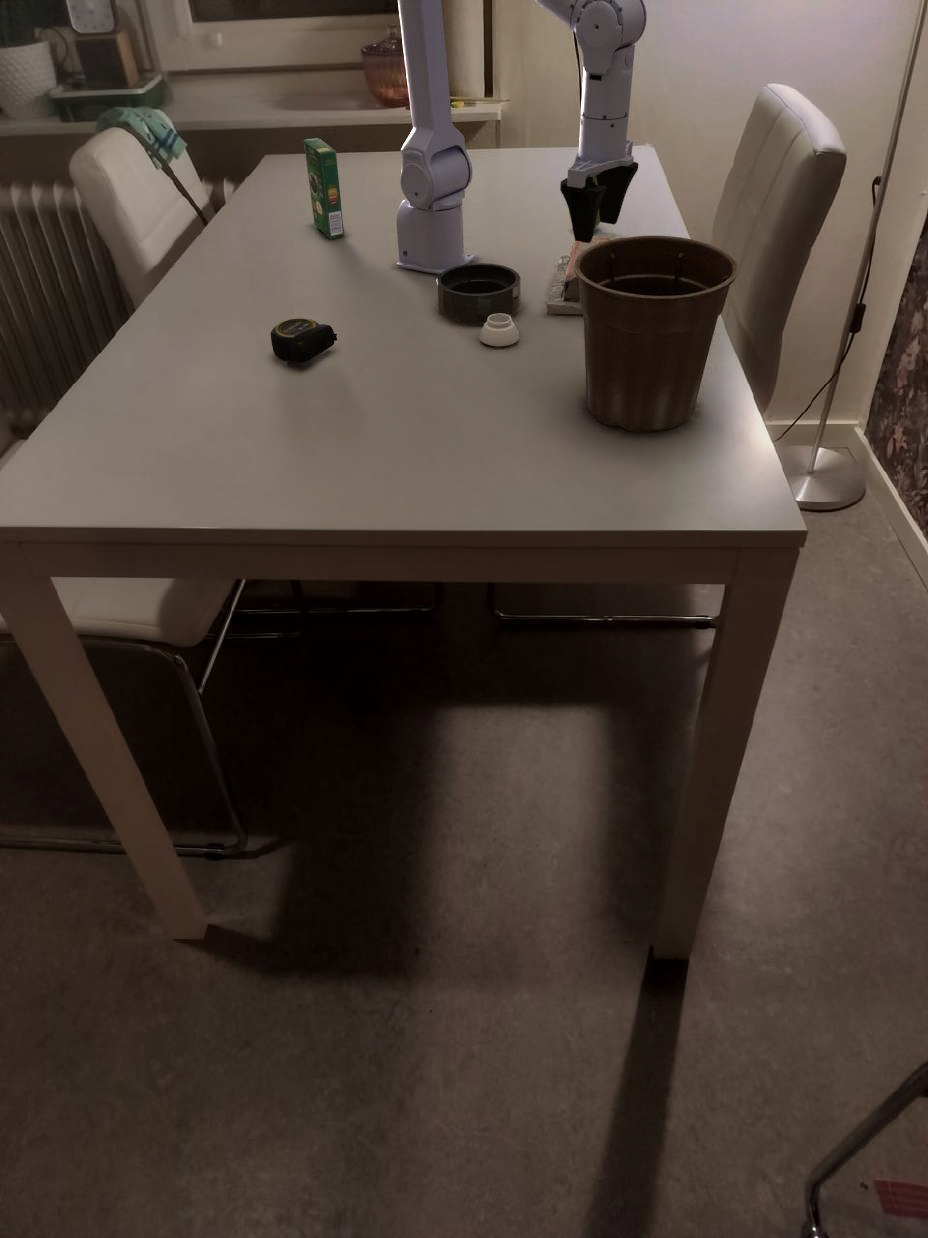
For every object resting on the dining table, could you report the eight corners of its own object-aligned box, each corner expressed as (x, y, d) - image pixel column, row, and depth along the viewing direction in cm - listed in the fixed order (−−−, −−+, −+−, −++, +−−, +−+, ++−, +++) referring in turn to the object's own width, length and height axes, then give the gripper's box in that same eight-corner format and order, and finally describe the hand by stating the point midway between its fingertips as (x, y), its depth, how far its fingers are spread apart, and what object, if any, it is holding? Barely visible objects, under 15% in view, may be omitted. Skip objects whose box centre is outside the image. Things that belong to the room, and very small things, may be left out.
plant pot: (612, 458, 91) (628, 307, 80) (541, 391, 102) (546, 250, 91) (741, 423, 96) (772, 276, 85) (659, 362, 107) (678, 225, 96)
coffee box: (346, 237, 142) (336, 148, 133) (330, 240, 141) (318, 151, 133) (330, 222, 148) (319, 136, 139) (313, 225, 147) (302, 139, 138)
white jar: (472, 341, 113) (501, 352, 110) (471, 319, 111) (501, 330, 108) (497, 328, 115) (526, 339, 113) (497, 306, 113) (527, 316, 111)
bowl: (423, 317, 118) (421, 286, 116) (462, 287, 126) (461, 257, 123) (496, 332, 114) (496, 301, 112) (533, 301, 122) (534, 270, 119)
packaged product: (561, 232, 128) (630, 235, 126) (559, 265, 131) (627, 268, 129) (546, 279, 115) (623, 283, 113) (545, 315, 118) (619, 319, 116)
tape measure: (304, 373, 107) (299, 344, 105) (262, 360, 110) (257, 331, 108) (339, 351, 112) (335, 323, 109) (298, 339, 114) (294, 311, 112)
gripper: (609, 132, 98) (600, 254, 107) (659, 103, 107) (646, 219, 116) (553, 125, 101) (549, 245, 110) (607, 98, 110) (598, 211, 119)
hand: (595, 231), depth 114 cm, fingers open, 7 cm apart
